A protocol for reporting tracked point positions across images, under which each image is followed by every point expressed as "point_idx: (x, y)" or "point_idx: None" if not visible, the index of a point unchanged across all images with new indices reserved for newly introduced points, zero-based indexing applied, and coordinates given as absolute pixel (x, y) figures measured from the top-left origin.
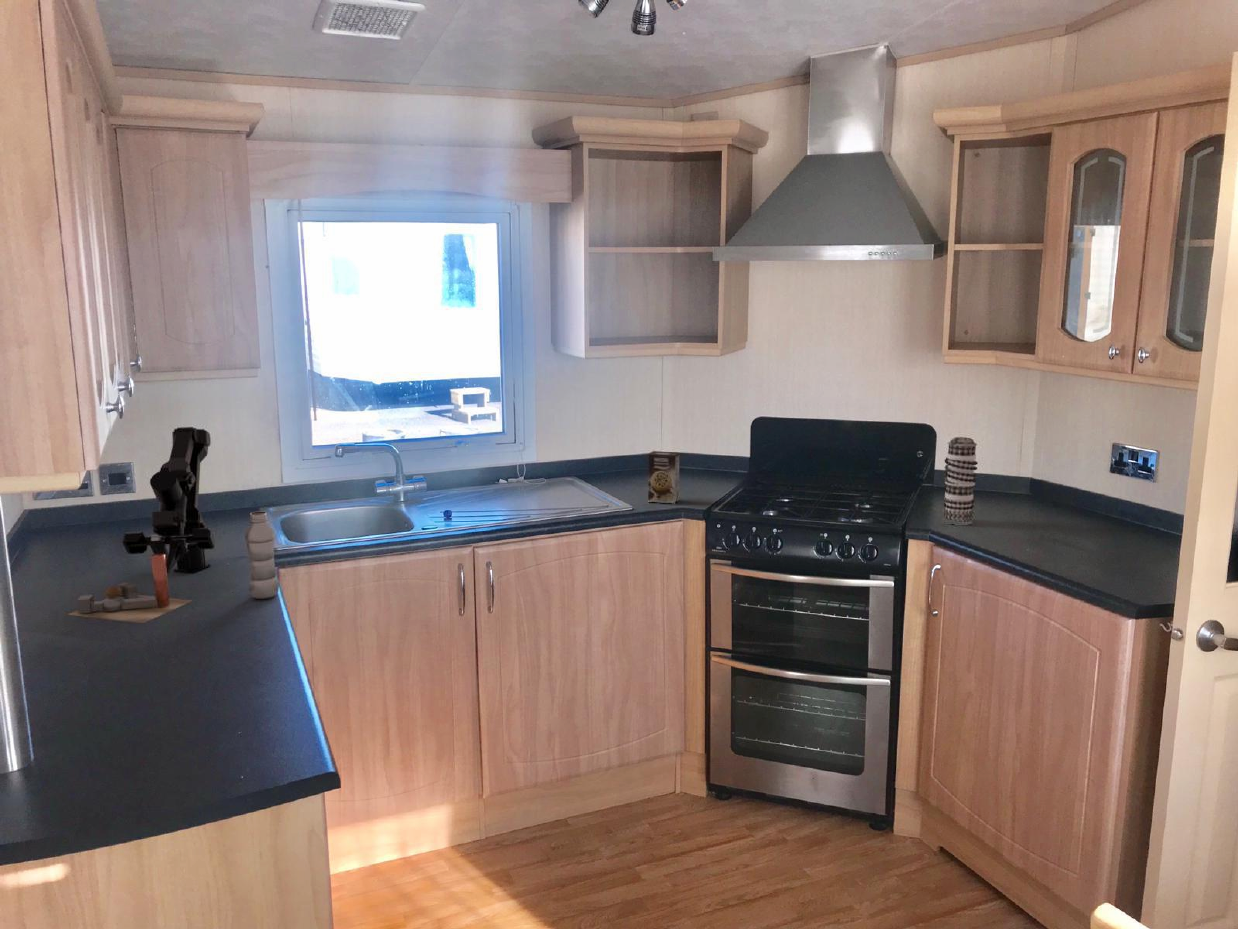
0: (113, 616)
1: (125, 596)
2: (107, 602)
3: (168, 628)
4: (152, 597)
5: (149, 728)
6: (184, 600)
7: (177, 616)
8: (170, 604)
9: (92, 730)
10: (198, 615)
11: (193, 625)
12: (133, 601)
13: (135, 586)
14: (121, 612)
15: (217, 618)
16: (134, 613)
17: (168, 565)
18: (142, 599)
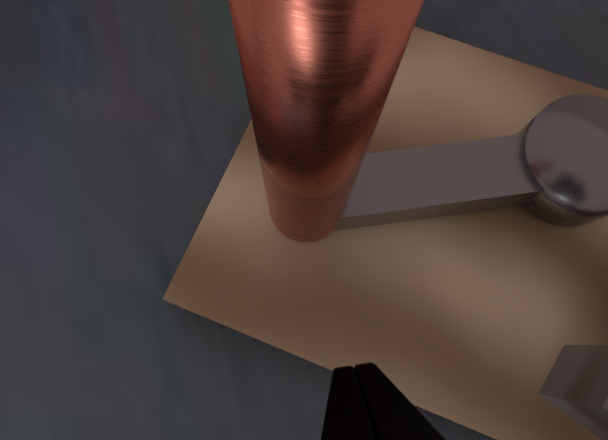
0: (500, 87)
1: None
2: (597, 104)
3: (206, 6)
4: (376, 203)
5: None
6: (214, 306)
7: (211, 144)
8: (276, 239)
9: None
10: (109, 146)
11: (106, 26)
12: (461, 143)
13: (602, 398)
14: (492, 136)
15: (9, 97)
16: (415, 115)
17: (342, 424)
18: (423, 171)
